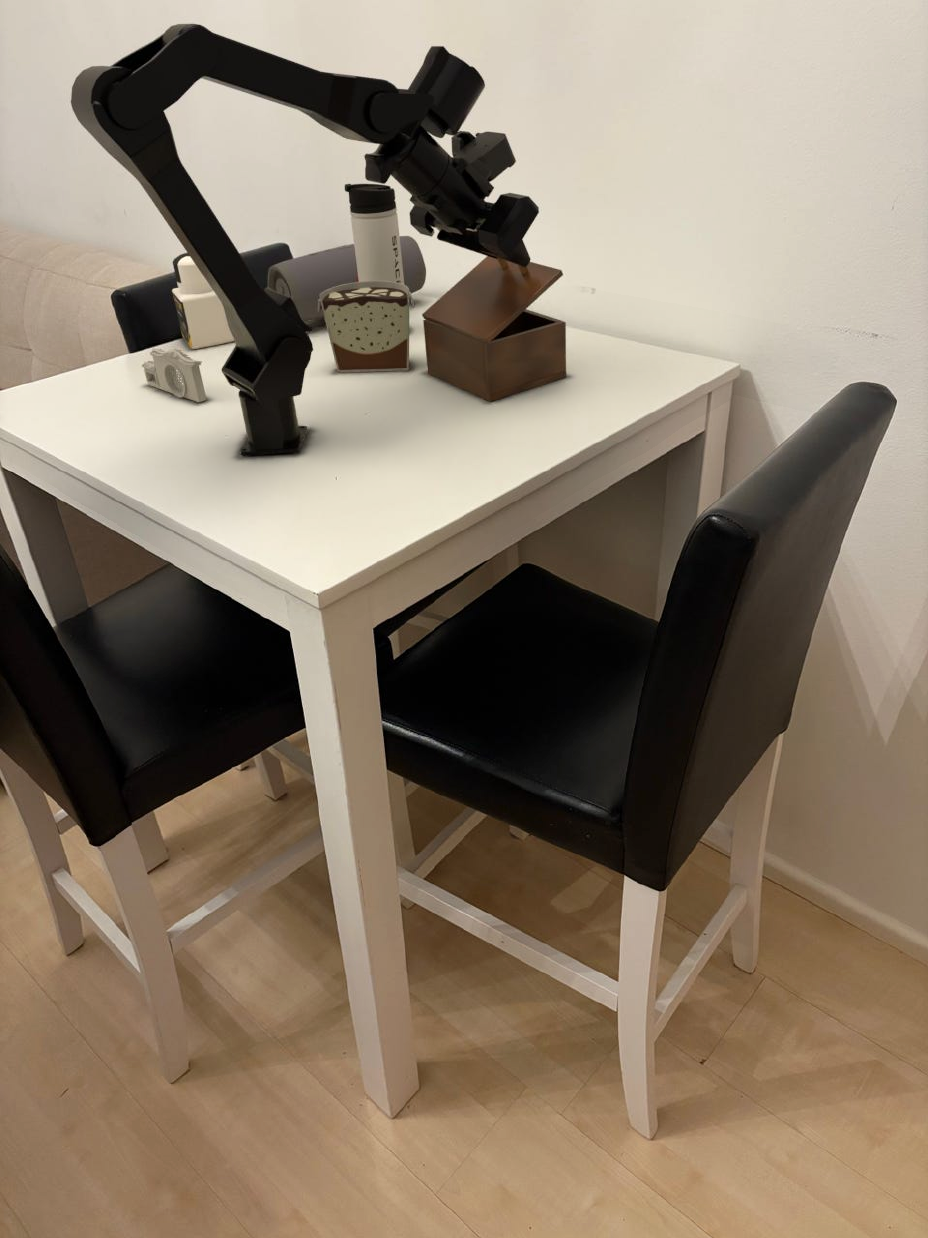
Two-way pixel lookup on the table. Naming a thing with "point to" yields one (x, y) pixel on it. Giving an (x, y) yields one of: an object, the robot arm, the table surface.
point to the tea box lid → (491, 297)
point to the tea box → (499, 356)
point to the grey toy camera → (175, 374)
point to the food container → (368, 325)
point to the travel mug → (375, 232)
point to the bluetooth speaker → (335, 275)
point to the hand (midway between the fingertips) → (514, 259)
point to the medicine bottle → (198, 307)
